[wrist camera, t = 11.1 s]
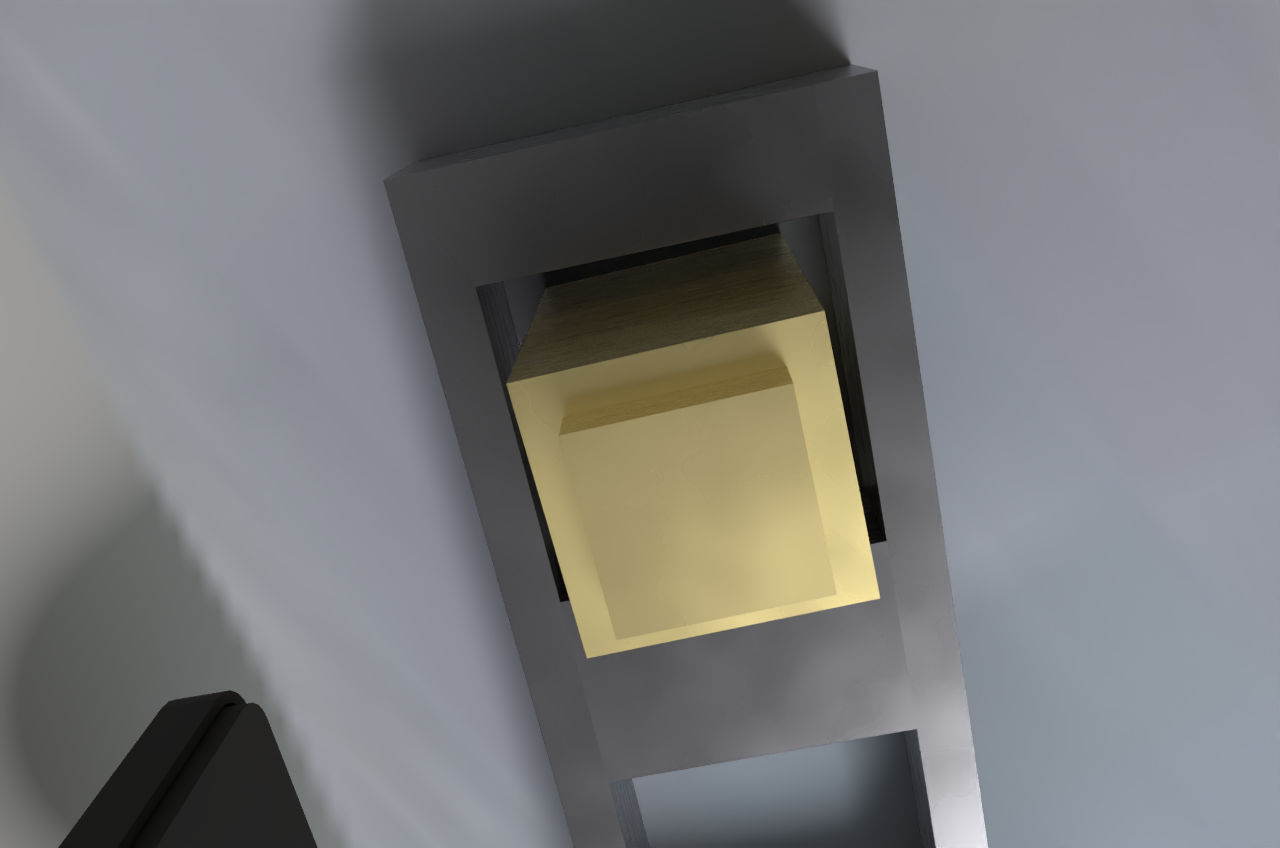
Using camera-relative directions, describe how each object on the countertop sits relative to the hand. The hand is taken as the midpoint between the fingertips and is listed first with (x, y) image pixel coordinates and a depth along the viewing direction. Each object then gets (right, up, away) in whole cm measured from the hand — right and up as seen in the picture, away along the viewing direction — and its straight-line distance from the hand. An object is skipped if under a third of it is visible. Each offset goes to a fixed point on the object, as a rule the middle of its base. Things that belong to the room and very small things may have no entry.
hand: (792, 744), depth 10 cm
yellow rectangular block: (0, +4, +12) cm, 13 cm away
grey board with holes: (+1, -1, +14) cm, 14 cm away
